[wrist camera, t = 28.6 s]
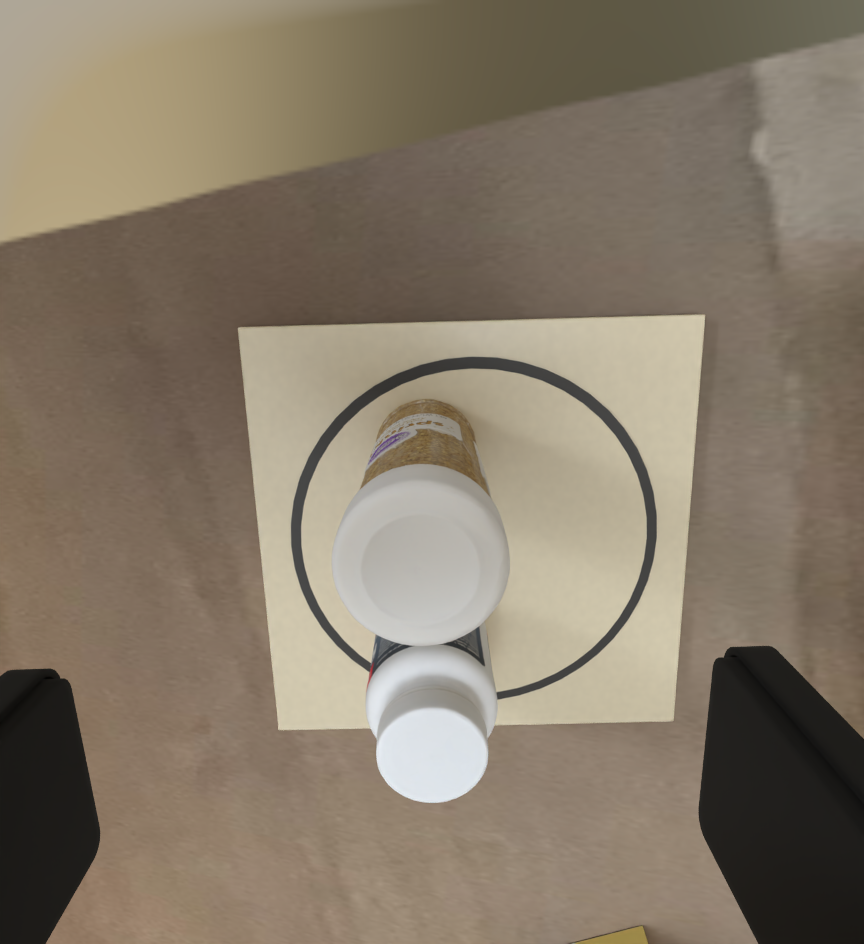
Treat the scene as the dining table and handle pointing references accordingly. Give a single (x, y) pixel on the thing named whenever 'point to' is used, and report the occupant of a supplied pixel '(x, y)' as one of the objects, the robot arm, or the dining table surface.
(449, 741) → the pill bottle
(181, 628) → the dining table surface
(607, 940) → the pasta box
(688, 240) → the dining table surface
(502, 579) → the sprinkles bottle
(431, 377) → the beige flat square board
